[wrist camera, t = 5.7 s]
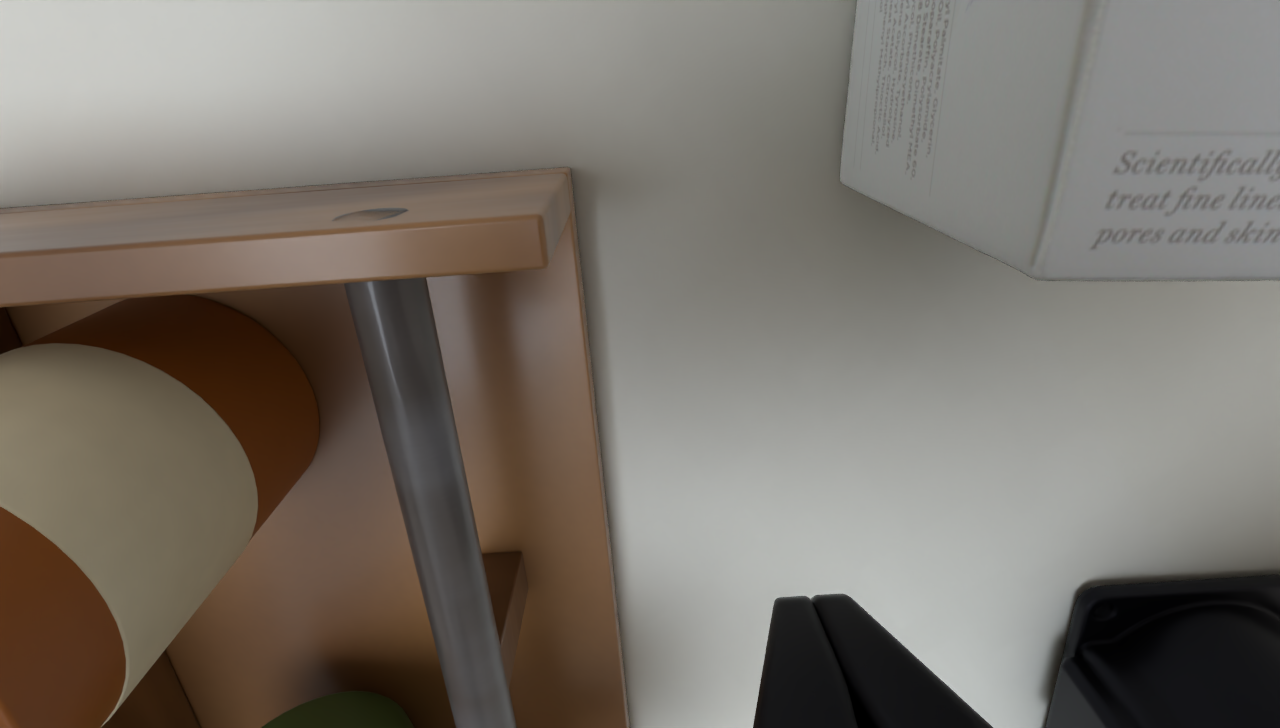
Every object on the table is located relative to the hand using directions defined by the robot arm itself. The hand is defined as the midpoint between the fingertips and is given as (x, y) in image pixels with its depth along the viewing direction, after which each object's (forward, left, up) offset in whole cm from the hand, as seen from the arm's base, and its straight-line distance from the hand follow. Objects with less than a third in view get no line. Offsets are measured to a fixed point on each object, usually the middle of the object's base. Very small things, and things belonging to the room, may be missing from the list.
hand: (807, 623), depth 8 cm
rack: (+9, +5, -8) cm, 13 cm away
